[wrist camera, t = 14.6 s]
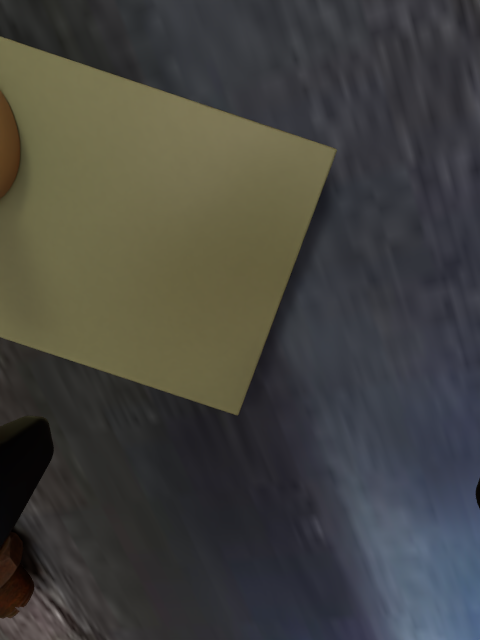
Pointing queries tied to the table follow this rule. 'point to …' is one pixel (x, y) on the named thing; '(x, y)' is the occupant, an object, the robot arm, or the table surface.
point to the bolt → (13, 577)
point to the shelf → (147, 227)
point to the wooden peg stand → (8, 147)
